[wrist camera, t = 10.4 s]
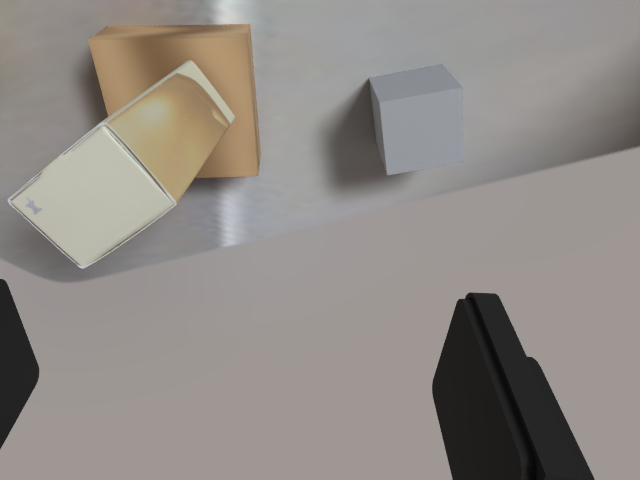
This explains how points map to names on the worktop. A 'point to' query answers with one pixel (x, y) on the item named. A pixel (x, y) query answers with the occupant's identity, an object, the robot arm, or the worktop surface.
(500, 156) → the worktop surface
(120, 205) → the skincare box
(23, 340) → the robot arm
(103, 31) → the oak block
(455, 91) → the grey block
